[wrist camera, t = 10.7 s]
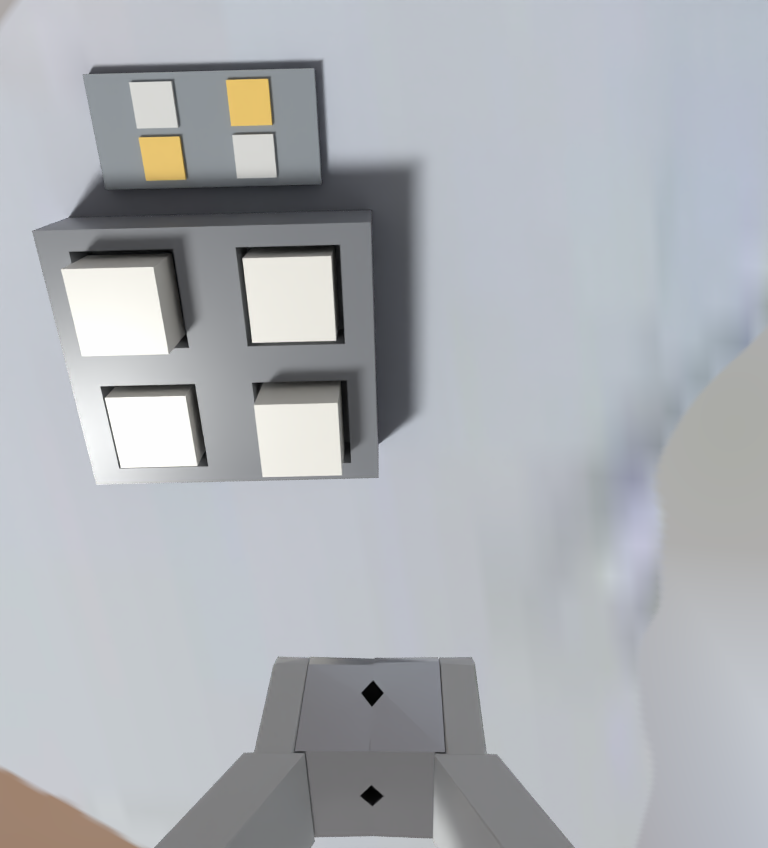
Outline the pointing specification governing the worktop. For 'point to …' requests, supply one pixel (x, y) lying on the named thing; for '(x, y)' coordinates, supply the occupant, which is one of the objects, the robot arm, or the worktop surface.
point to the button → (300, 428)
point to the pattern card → (206, 128)
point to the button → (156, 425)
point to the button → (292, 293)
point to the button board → (222, 335)
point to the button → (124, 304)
